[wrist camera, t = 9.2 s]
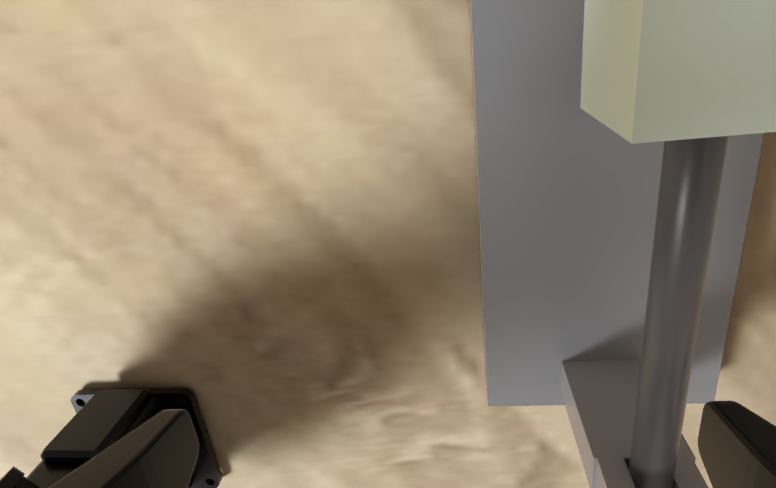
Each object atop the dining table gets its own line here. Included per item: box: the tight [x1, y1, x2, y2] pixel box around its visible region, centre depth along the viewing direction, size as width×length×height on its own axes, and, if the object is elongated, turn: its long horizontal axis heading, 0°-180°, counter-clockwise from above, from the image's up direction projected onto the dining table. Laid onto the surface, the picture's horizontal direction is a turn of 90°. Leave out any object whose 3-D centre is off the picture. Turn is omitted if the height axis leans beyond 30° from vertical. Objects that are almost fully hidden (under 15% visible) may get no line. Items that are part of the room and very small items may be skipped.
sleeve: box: [580, 0, 776, 144], centre depth 10 cm, size 4×4×4 cm
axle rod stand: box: [469, 0, 764, 488], centre depth 14 cm, size 22×9×9 cm, turn 6°
